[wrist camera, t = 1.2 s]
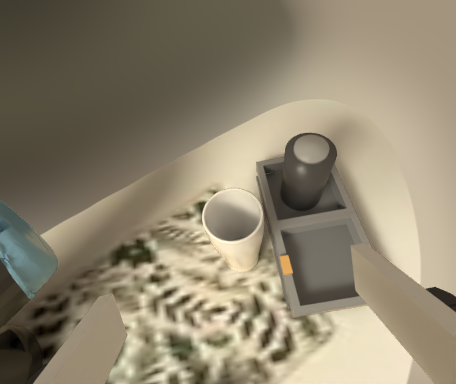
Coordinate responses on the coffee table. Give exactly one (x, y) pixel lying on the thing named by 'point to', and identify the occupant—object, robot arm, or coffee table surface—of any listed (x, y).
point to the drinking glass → (235, 227)
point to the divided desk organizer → (311, 226)
